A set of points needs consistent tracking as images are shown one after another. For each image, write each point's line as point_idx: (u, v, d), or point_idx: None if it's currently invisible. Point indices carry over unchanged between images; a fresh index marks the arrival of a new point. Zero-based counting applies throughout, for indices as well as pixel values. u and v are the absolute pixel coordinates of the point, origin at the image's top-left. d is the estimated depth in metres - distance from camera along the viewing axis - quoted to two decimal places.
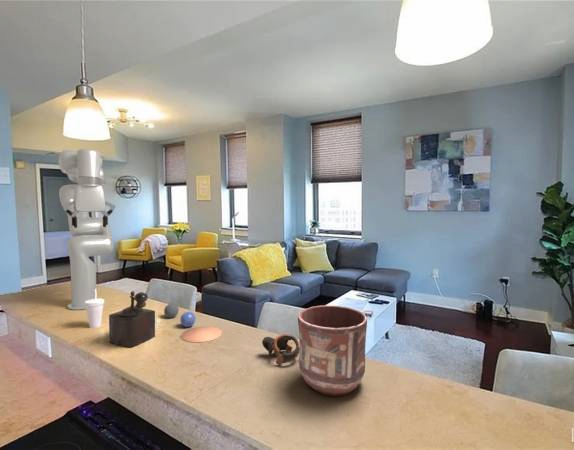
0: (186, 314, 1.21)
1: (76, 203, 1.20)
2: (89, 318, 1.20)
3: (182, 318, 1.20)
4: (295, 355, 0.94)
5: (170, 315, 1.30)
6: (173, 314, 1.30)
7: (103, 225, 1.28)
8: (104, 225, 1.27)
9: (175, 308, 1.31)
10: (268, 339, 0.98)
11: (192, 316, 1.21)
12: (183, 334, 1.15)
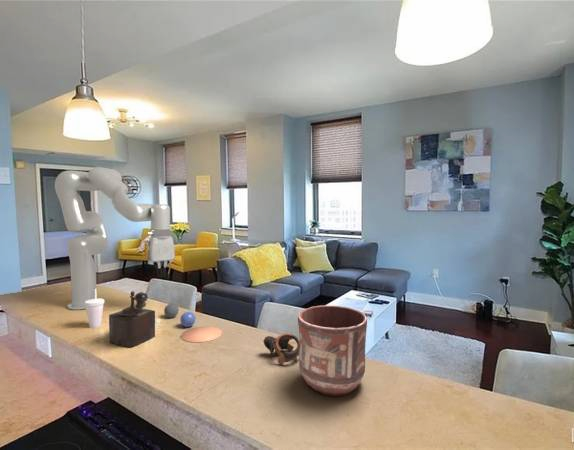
0: (186, 314, 1.21)
1: None
2: (89, 318, 1.20)
3: (182, 318, 1.20)
4: (296, 354, 0.95)
5: (170, 315, 1.30)
6: (173, 314, 1.30)
7: None
8: None
9: (175, 308, 1.31)
10: (269, 338, 0.98)
11: (192, 316, 1.21)
12: (183, 334, 1.15)
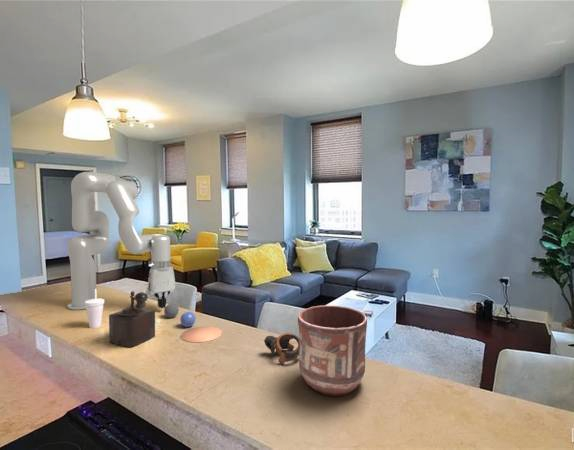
0: (186, 314, 1.21)
1: None
2: (89, 318, 1.20)
3: (182, 318, 1.20)
4: (297, 353, 0.95)
5: (170, 315, 1.30)
6: (173, 314, 1.30)
7: None
8: None
9: (175, 308, 1.31)
10: (270, 338, 0.99)
11: (192, 316, 1.21)
12: (183, 334, 1.15)
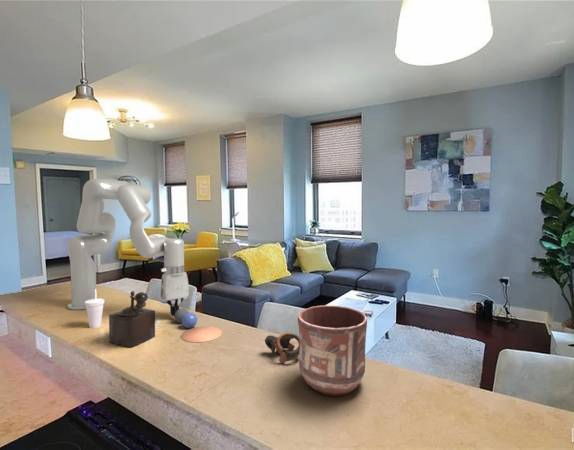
0: (189, 317, 1.19)
1: None
2: (89, 318, 1.20)
3: (184, 320, 1.19)
4: (298, 353, 0.95)
5: None
6: None
7: (174, 314, 1.30)
8: None
9: None
10: (271, 338, 0.99)
11: (194, 321, 1.20)
12: (183, 334, 1.15)
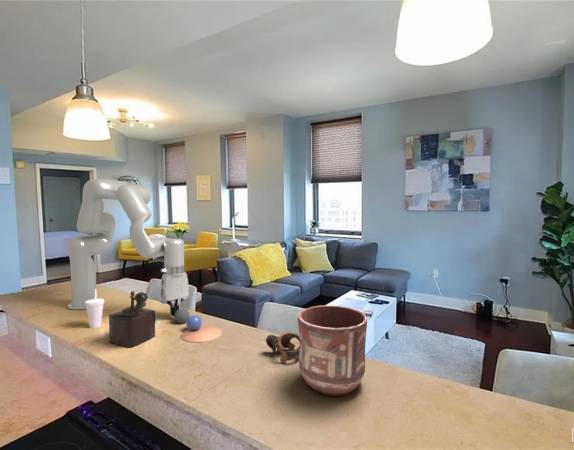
0: (194, 328, 1.17)
1: None
2: (89, 318, 1.20)
3: (189, 326, 1.17)
4: None
5: None
6: None
7: (174, 314, 1.30)
8: None
9: None
10: (272, 337, 0.99)
11: (197, 329, 1.19)
12: (183, 334, 1.15)
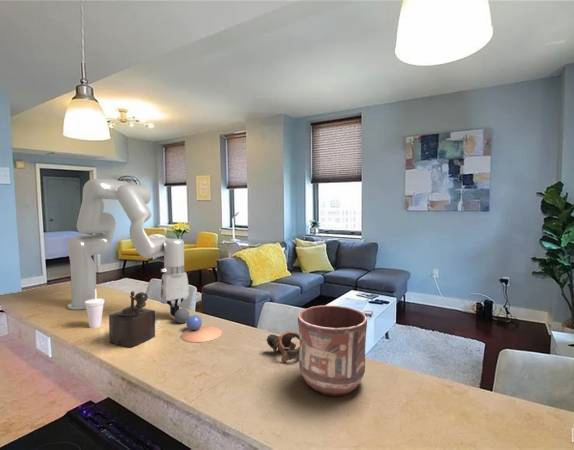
0: (194, 328, 1.17)
1: None
2: (89, 318, 1.20)
3: (189, 326, 1.17)
4: None
5: None
6: None
7: (174, 314, 1.30)
8: None
9: None
10: (273, 337, 1.00)
11: (197, 329, 1.19)
12: (183, 334, 1.15)
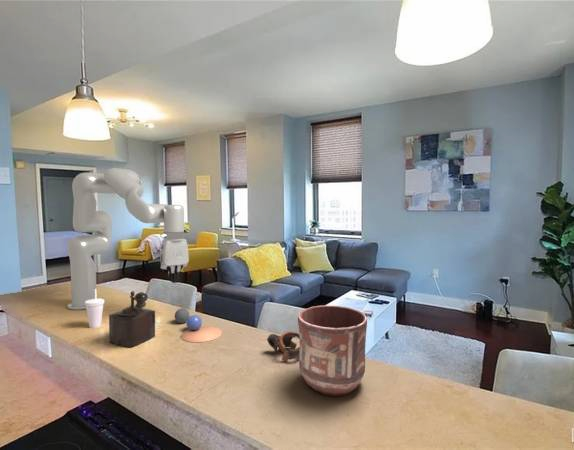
0: (194, 328, 1.17)
1: None
2: (89, 318, 1.20)
3: (189, 326, 1.17)
4: None
5: None
6: None
7: None
8: None
9: None
10: (273, 336, 1.00)
11: (197, 329, 1.19)
12: (183, 334, 1.15)
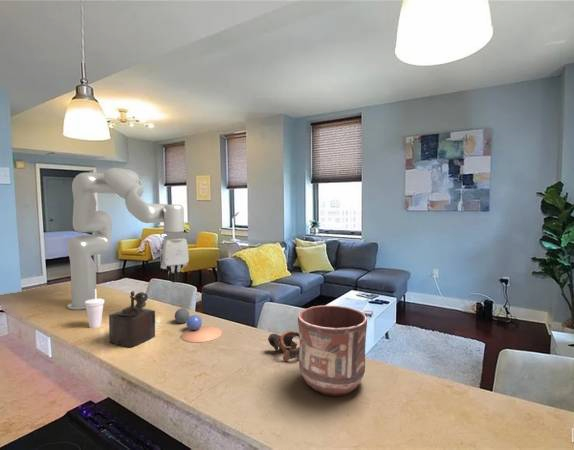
0: (194, 328, 1.17)
1: None
2: (89, 318, 1.20)
3: (189, 326, 1.17)
4: None
5: None
6: None
7: None
8: None
9: None
10: (274, 336, 1.00)
11: (197, 329, 1.19)
12: (183, 334, 1.15)
